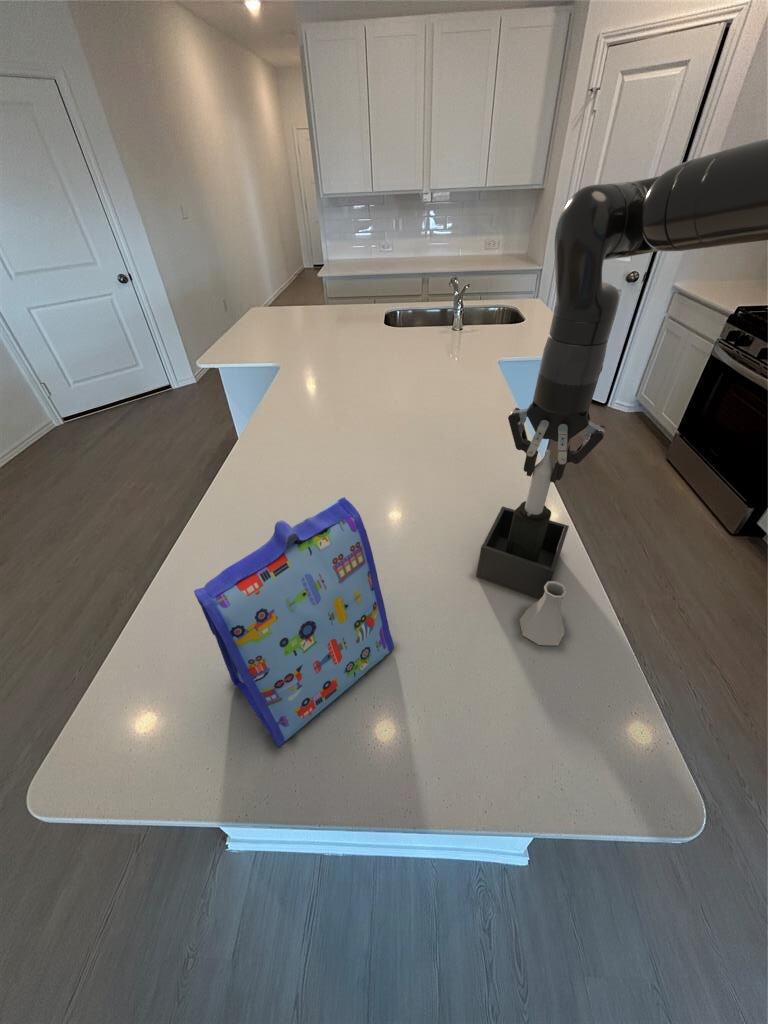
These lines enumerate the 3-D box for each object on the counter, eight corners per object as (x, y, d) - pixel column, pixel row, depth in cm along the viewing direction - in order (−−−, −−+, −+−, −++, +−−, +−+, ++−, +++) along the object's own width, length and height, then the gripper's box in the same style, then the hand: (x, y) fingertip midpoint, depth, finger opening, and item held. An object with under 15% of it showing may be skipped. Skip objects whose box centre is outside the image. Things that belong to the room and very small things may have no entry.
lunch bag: (342, 602, 77) (324, 467, 59) (396, 652, 70) (395, 515, 51) (231, 683, 66) (164, 549, 48) (280, 753, 59) (224, 625, 40)
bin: (558, 555, 85) (569, 525, 80) (544, 601, 76) (554, 571, 71) (496, 535, 89) (502, 506, 84) (475, 576, 81) (481, 547, 76)
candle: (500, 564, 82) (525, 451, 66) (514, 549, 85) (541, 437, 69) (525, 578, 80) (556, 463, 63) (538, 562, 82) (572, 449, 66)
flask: (565, 617, 74) (581, 577, 67) (562, 653, 69) (580, 614, 62) (521, 605, 76) (533, 566, 70) (515, 639, 71) (527, 600, 64)
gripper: (508, 372, 58) (491, 477, 69) (623, 392, 53) (584, 502, 64) (523, 352, 63) (504, 454, 74) (630, 369, 58) (592, 475, 69)
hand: (542, 476), depth 69 cm, fingers closed on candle, 3 cm apart
